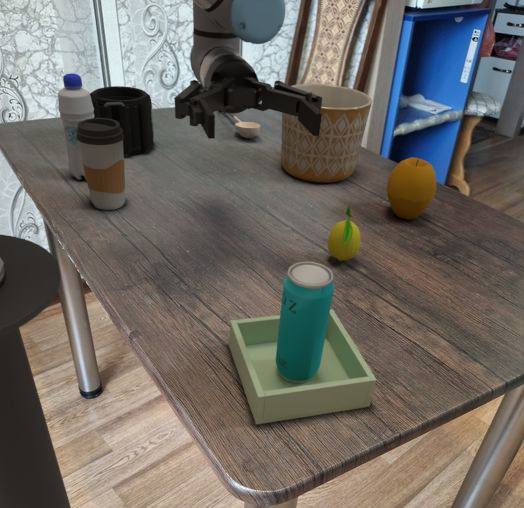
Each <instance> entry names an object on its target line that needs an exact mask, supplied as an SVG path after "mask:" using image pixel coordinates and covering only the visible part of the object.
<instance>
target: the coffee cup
mask: <svg viewBox="0 0 524 508" xmlns="http://www.w3.org/2000/svg"><path fill="white" fill-rule="evenodd" d="M76 133H77V140H78V142H79V146H80V151H81V155H82V161H83V167H84V171H85V176H86V179H85V180H86V184H87V188H88V191H89V196H90V200H91V203H92V204H93V206H94V207H95V208H96V209H99V210H106V211H111V210H116V209H119V208H122V207H123V206H124V204H125V202H126V176H125V175H126V173H125V170H126V169H125V157H124V154H123V139H124V135H123V130H122V128H120V123H119V122H118V121H116V120H113V119H108V118H90V119H85V120H82V121H80V122H79V123H78V129H77V130H76Z"/></svg>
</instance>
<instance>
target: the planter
mask: <svg viewBox="0 0 524 508" xmlns="http://www.w3.org/2000/svg"><path fill="white" fill-rule="evenodd" d="M290 86H291V87H294V88H297V89H300V90H303V91H306V92H312V94H314V95H317V96H320V97H322V106H321V114H322V117H321V124H320V132H319V136H313V135H312V134H311V133H310V132H309V131H308V130H307V129H306V128H305V127H304V126H303V125H302V124H301V123H300V122H299V121H298V117H297V116H293V115H289V114H286V113H282V112H281V145H280V146H281V147H280V149H281V151H280V152H281V153H280V157H281V159H280V161H281V166H282V168H283V169H284V170H285V172H286V173H288V174H289V175H290V176H293V177H294V178H297V179H299V180H303V181H306V182H311V183H317V184H318V183H321V184H328V183H329V184H330V183H337V182H341V181H344V180H347V179H348V178H350V177H351V176H352V175H353V173H354V172H355V170H356V166H357V162H358V159H359V154H360V151H361V146H362V142H363V139H364V134H365V130H366V127H367V122H368V119H369V115H370V112H371V107H372V104H373V103H372V102H373V100H372V98H371V97H370V96H369V95H368V94H366V93H365V92H363V91H361V90H358V89H356V88H355V89H354V88H351V87H347V86H342V85H336V84H327V83H298V84H293V85H290Z"/></svg>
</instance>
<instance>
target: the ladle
mask: <svg viewBox="0 0 524 508" xmlns="http://www.w3.org/2000/svg"><path fill="white" fill-rule="evenodd" d="M222 112H223V113H225V112H224V111H222ZM227 114H228V115H229V116H231V118H233V119H234V120H235V121H237V122H236V123H235V125H234V126H235V130H236V132H237V133H238V134H239V135H240V136H241V137H243V138H244V139H253V138H255V137H256V136H257V135H259V133H260V131H261V124H260V123H257V122H253V121H242V120H240V118H239V117H238V116H236V115H235V114H231V113H227Z"/></svg>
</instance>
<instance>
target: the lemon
mask: <svg viewBox="0 0 524 508" xmlns="http://www.w3.org/2000/svg"><path fill="white" fill-rule="evenodd" d="M351 212H352V207H350V205H349V206H348V207H347V208H346V211H345V214H346V216H348V217H347V219H345V220H341V221H339V222H337V223H335V224H334V225H333V227H332V228H331V231H330V232H329V234H328V237H327V249H328V252H329V253H330V255H331V256H332V257H333V258H335V259H337V260H338V261H339V262H343V261H348V260H352V259H353V258H355V257H356V255H357V254H358V252H359V250H360V247H361V241H362V238H361V231H360V229H359V227H358V225H356V223H355V222H353V221H351V220H350V218H354V216H353V215H352V214H351Z"/></svg>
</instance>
